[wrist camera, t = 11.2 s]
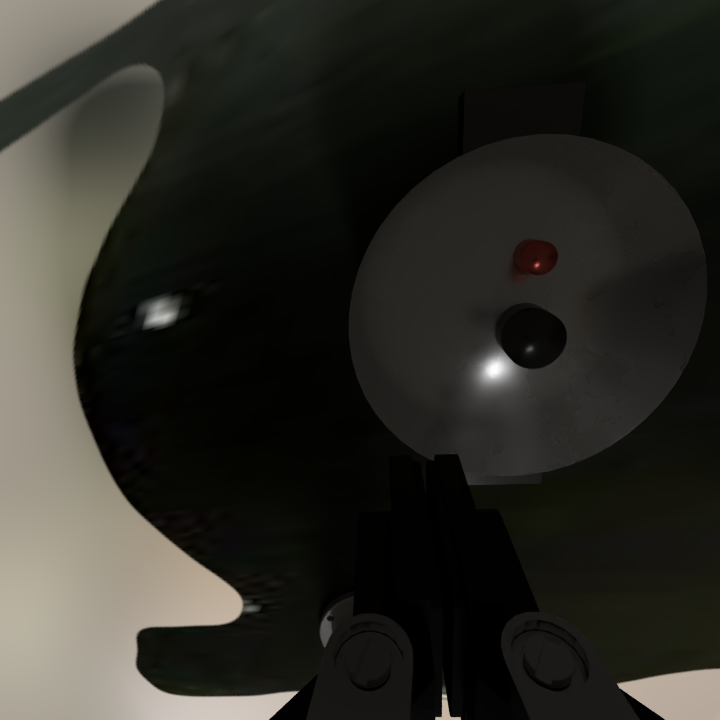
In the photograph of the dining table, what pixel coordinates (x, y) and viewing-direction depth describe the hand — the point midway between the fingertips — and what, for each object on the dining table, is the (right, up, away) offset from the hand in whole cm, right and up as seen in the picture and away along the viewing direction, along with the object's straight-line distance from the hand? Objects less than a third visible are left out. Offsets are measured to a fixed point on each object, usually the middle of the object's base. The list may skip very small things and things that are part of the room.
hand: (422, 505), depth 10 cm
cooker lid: (+7, +6, +14) cm, 16 cm away
